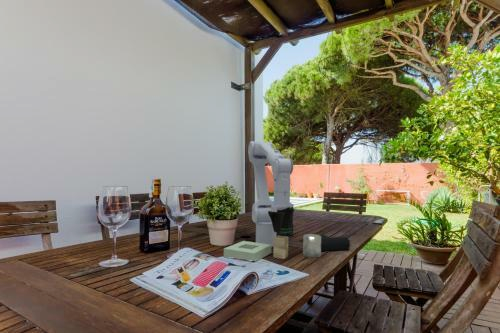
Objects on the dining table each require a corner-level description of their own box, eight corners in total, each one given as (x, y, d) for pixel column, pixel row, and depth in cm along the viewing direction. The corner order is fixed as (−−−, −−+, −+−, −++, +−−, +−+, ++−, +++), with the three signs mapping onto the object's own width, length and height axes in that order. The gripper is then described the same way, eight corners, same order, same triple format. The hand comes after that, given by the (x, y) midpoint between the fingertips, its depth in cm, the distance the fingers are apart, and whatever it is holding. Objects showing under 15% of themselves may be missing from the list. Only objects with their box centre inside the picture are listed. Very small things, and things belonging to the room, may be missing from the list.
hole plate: (243, 248, 118) (243, 240, 118) (271, 252, 112) (271, 244, 112) (223, 257, 105) (223, 248, 105) (254, 262, 100) (254, 253, 100)
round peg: (306, 252, 114) (306, 233, 114) (322, 254, 111) (323, 235, 111) (300, 256, 109) (300, 236, 109) (318, 258, 106) (318, 238, 106)
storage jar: (270, 236, 141) (270, 204, 141) (275, 232, 150) (275, 202, 151) (291, 238, 138) (291, 205, 138) (295, 234, 147) (295, 203, 147)
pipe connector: (302, 233, 125) (334, 231, 129) (301, 246, 125) (333, 244, 129) (315, 239, 114) (350, 238, 118) (315, 253, 114) (349, 251, 118)
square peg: (277, 254, 110) (278, 235, 110) (288, 256, 108) (288, 236, 108) (273, 257, 106) (273, 237, 106) (284, 259, 104) (284, 238, 104)
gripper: (284, 193, 99) (284, 235, 99) (299, 191, 112) (298, 228, 111) (265, 192, 102) (264, 232, 102) (281, 190, 115) (281, 226, 115)
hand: (281, 230), depth 107 cm, fingers open, 7 cm apart
